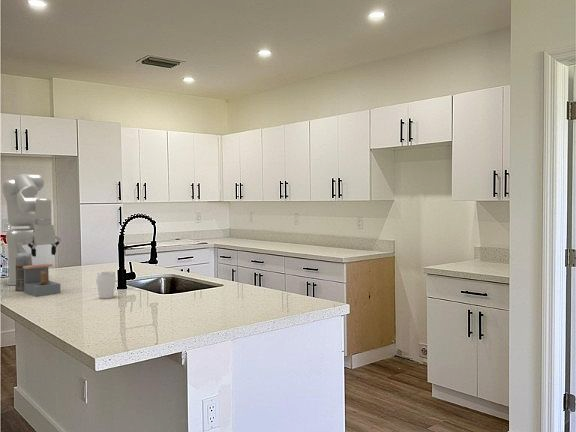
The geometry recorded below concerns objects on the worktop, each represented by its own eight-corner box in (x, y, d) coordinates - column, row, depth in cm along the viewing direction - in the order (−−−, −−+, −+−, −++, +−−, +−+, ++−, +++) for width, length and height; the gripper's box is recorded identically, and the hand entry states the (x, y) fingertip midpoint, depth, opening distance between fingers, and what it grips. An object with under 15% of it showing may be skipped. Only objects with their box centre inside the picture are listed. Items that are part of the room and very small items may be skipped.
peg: (42, 294, 262) (42, 271, 262) (39, 293, 265) (39, 270, 264) (49, 293, 265) (49, 270, 264) (47, 292, 267) (46, 269, 267)
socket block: (23, 292, 268) (22, 266, 267) (48, 289, 277) (48, 263, 277) (35, 296, 257) (34, 268, 256) (61, 293, 266) (60, 266, 266)
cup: (92, 298, 253) (92, 273, 253) (106, 294, 261) (106, 271, 261) (105, 299, 249) (105, 275, 249) (119, 296, 257) (119, 272, 257)
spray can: (36, 288, 280) (35, 252, 279) (27, 291, 272) (26, 253, 271) (21, 288, 281) (20, 251, 280) (12, 291, 273) (11, 253, 272)
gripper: (28, 223, 255) (28, 257, 256) (63, 222, 267) (63, 254, 268) (22, 222, 260) (23, 256, 261) (57, 221, 272) (57, 253, 273)
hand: (43, 255), depth 265 cm, fingers open, 9 cm apart
